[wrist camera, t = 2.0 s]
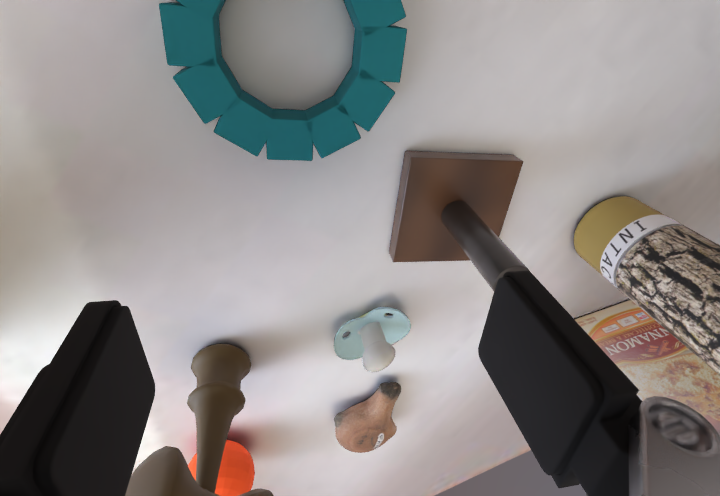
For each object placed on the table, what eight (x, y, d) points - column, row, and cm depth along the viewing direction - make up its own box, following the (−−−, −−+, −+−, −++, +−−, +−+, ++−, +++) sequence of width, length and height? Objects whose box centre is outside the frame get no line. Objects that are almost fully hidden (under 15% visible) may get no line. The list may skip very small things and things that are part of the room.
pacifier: (415, 328, 40) (394, 289, 36) (438, 379, 35) (415, 340, 31) (350, 358, 41) (323, 323, 37) (363, 413, 36) (333, 378, 32)
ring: (187, 143, 26) (180, 157, 24) (153, -121, 20) (138, -135, 17) (380, 150, 29) (388, 163, 27) (408, -79, 22) (423, -87, 20)
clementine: (255, 465, 47) (253, 532, 41) (193, 471, 45) (181, 542, 40) (255, 423, 43) (253, 491, 37) (187, 428, 41) (173, 500, 36)
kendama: (204, 314, 34) (139, 618, 17) (282, 365, 39) (290, 639, 23) (156, 351, 35) (54, 669, 19) (238, 396, 40) (215, 678, 24)
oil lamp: (410, 404, 48) (389, 364, 43) (425, 432, 44) (403, 392, 40) (344, 440, 47) (316, 404, 43) (354, 472, 44) (324, 436, 39)
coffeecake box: (676, 281, 43) (916, 452, 27) (665, 325, 47) (870, 497, 31) (546, 326, 43) (709, 524, 27) (546, 366, 47) (689, 560, 31)
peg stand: (388, 252, 34) (428, 341, 25) (405, 150, 29) (460, 215, 21) (484, 250, 36) (551, 332, 27) (513, 154, 31) (606, 216, 23)
